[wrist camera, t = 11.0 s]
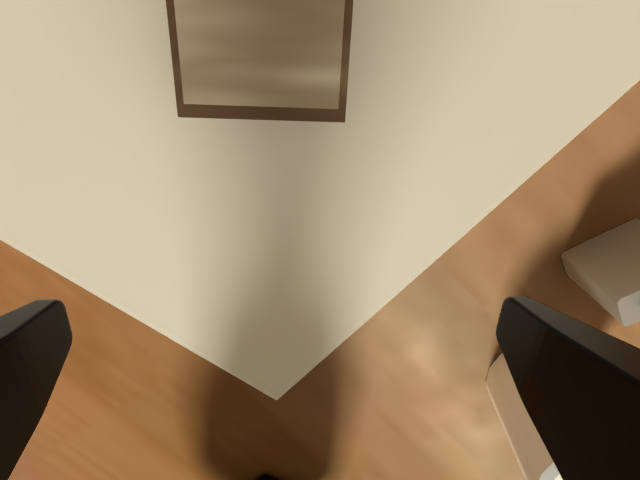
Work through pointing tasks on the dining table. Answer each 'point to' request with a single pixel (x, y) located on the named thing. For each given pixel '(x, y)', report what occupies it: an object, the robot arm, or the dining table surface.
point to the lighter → (610, 270)
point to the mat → (285, 163)
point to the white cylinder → (519, 425)
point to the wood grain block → (261, 58)
